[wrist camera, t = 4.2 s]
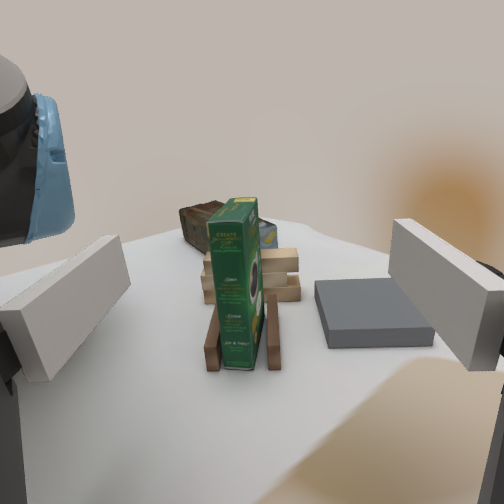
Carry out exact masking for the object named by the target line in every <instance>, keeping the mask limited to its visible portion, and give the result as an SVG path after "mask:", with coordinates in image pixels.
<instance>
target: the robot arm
mask: <svg viewBox="0 0 504 504" xmlns="http://www.w3.org/2000/svg"><path fill="white" fill-rule="evenodd" d="M65 155H66V154H65V149H64V144H63V136H62V130H61V124H60V119H59V113H58V109H57V104H56V102H55V100H54V99H52V98H51V97H48V96H43V95H41V94H38V93H37V94H34V95H31V93H30V90H29V87H28V85H27V82H26V79H25V76H24V75H23V73H22V71H21V70H20V69H19V67H18V66H16V65H15V64H14V63H13V62H11V61H10V60H8V59H6V58H5V57H3V56H2V55H0V248H1V247H7V246H12V245H18V244H27V243H28V244H29V243H31V242H32V241H33V240H38V239H42V238H46V237H50V236H54V235H58V234H61V233H63V232H65V231H66V230H68V229H69V228H70V227H71V225H72V224H73V223H74V219H75V213H74V204H73V198H72V191H71V185H70V178H69V172H68V167H67V162H66V156H65ZM388 273H389V275H390V276H391V277H392V278H393V280H394V281H395V282H396V283H397V284H398V286H399V287H400V288H401V289H402V291H403V292H404V293H405V294H406V295H407V297H408V298H409V299H410V300H411V302H412V303H413V304H414V305H415V306H416V308H417V309H418V310H419V311H420V313H421V314H422V315H423V316H424V318H425V319H426V320H427V321H428V322H429V324H430V325H431V326H432V327H433V329H434V330H435V331H436V332H437V333H438V335H439V336H440V337H441V338H442V340H443V341H444V342H445V343H446V345H447V346H448V347H449V348H450V349H451V351H452V352H453V353H454V354H455V356H456V357H457V358H458V359H459V360H460V362H461V363H462V364H463V365H464V367H465V368H466V369H467V370H468V371H495V369H496V366H497V362H498V359H499V356H500V354H501V355H502V356H503V357H504V275H503V273H502V272H500V271H498V270H497V269H495V268H493V267H492V266H490V265H487V264H484V263H482V262H479V261H474V260H473V259H471V258H470V257H468V256H467V255H465V254H464V253H462V252H461V251H459V250H457V249H456V248H455V247H453V246H452V245H450V244H449V243H447V242H446V241H444V240H443V239H441V238H440V237H438V236H437V235H435V234H433V233H432V232H431V231H429V230H428V229H426V228H424V227H423V226H421V225H420V224H418V223H417V222H415V221H414V220H412V219H410V218H409V219H394V222H393V231H392V240H391V250H390V259H389V269H388ZM130 285H131V282H130V278H129V274H128V270H127V266H126V262H125V258H124V254H123V250H122V246H121V242H120V238H119V235H105V236H102V237H101V238H99V239H98V240H97V241H95V242H94V243H92V244H91V245H89V246H88V247H86V248H85V249H84V250H82V251H81V252H79V253H78V254H76V255H75V256H74V257H72V258H71V259H69V260H68V261H66V262H65V263H63V264H62V265H61V266H59V267H58V268H56V269H55V270H53V271H52V272H51V273H49V274H48V275H46V276H45V277H43V278H42V279H41V280H39V281H38V282H36V283H35V284H33V285H32V286H31V287H29V288H28V289H26V290H25V291H23V292H22V293H21V294H19V295H18V296H16V297H15V298H13V299H12V300H10V301H9V302H8V303H6V304H5V305H3V306H2V307H0V504H27V497H26V485H25V474H24V463H23V451H22V440H21V429H20V417H19V406H18V395H17V385H16V383H15V381H14V379H13V376H14V375H15V374H16V373H17V372H18V371H19V370H20V369H21V368H22V371H23V373H24V375H25V377H26V379H27V382H50V381H51V380H52V379H53V378H54V376H55V375H56V374H57V373H58V372H59V370H60V369H61V368H62V367H63V366H64V364H65V363H66V362H67V361H68V360H69V358H70V357H71V356H72V355H73V354H74V352H75V351H76V350H77V349H78V348H79V346H80V345H81V344H82V343H83V342H84V340H85V339H86V338H87V337H88V336H89V334H90V333H91V332H92V331H93V330H94V328H95V327H96V326H97V325H98V324H99V322H100V321H101V320H102V319H103V317H104V316H105V315H106V314H107V313H108V311H109V310H110V309H111V308H112V307H113V305H114V304H115V303H116V302H117V301H118V299H119V298H120V297H121V296H122V295H123V293H124V292H125V291H126V290H127V289H128V287H129V286H130ZM501 394H502V398H501V403H500V407H499V411H498V415H497V420H496V424H495V429H494V433H493V438H492V442H491V446H490V451H489V455H488V459H487V464H486V468H485V473H484V477H483V481H482V486H481V490H480V495H479V499H478V503H477V504H504V385H503V388H502V392H501Z"/></svg>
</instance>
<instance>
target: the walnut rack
mask: <svg viewBox="0 0 504 504" xmlns="http://www.w3.org/2000/svg"><path fill="white" fill-rule="evenodd" d="M267 348H268V365H269V370H281V363H280V340H279V323H278V306H277V294H267ZM204 353H205V359H206V366H207V371H219V368H220V363H221V358H222V346H221V338H220V328H219V320H218V312H217V304H215V308H214V312H213V315H212V319H211V323H210V326H209V330H208V333H207V337H206V341H205V344H204Z"/></svg>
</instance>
